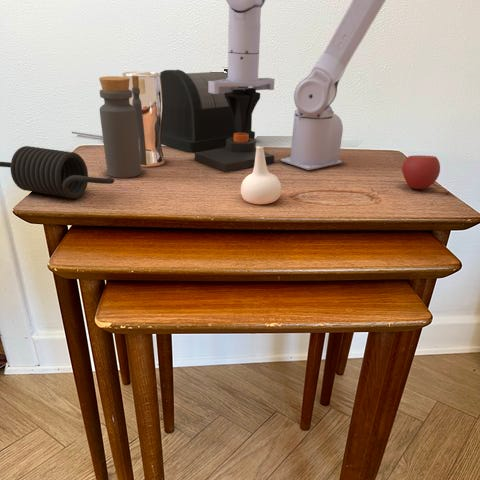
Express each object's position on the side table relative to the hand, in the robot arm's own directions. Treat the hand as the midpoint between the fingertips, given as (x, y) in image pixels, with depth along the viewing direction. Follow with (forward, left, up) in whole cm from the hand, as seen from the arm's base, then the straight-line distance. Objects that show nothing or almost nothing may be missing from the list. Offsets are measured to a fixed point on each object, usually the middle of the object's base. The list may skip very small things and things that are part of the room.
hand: (241, 131), depth 91 cm
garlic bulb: (+14, +23, -5) cm, 27 cm away
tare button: (0, 0, -2) cm, 2 cm away
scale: (+4, +3, -5) cm, 7 cm away
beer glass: (+18, -5, -5) cm, 20 cm away
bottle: (+25, -1, -5) cm, 26 cm away
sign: (+21, -35, -4) cm, 41 cm away
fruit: (-11, +31, -2) cm, 32 cm away
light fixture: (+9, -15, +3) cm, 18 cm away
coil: (+36, +3, +2) cm, 36 cm away
